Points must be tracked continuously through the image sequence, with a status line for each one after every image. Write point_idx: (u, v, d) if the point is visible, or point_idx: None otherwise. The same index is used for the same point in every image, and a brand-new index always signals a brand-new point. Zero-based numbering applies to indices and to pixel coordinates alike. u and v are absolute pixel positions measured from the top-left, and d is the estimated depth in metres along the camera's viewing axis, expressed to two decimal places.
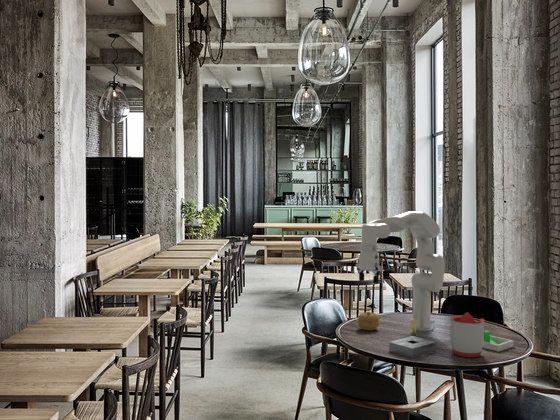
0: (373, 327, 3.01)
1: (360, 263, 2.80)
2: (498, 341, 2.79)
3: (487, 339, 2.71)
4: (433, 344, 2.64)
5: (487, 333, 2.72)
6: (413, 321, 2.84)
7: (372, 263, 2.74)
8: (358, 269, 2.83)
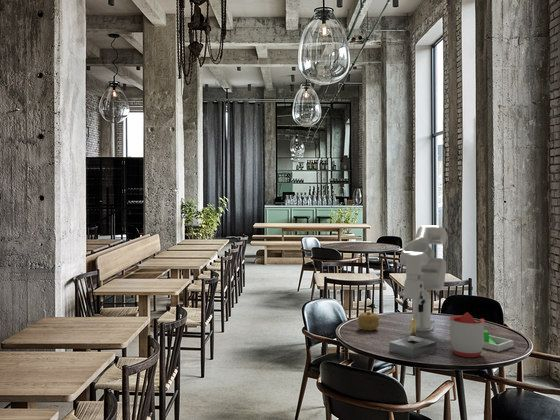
0: (373, 327, 3.01)
1: (404, 291, 2.86)
2: (498, 341, 2.79)
3: (486, 339, 2.71)
4: (433, 344, 2.64)
5: (486, 333, 2.72)
6: (413, 321, 2.84)
7: (417, 292, 2.80)
8: (402, 297, 2.89)
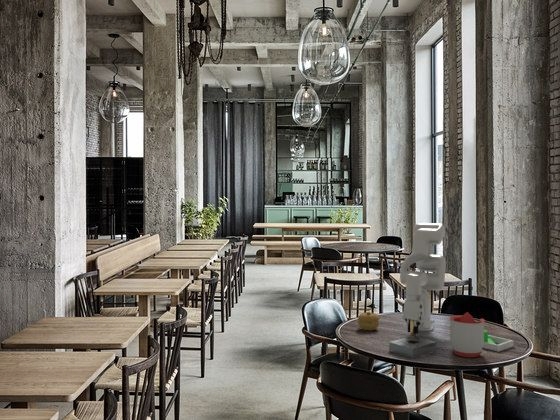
0: (373, 327, 3.01)
1: (404, 311, 2.87)
2: (498, 341, 2.79)
3: (484, 338, 2.72)
4: (433, 344, 2.64)
5: (485, 333, 2.73)
6: (413, 321, 2.84)
7: (417, 312, 2.81)
8: (406, 319, 2.88)
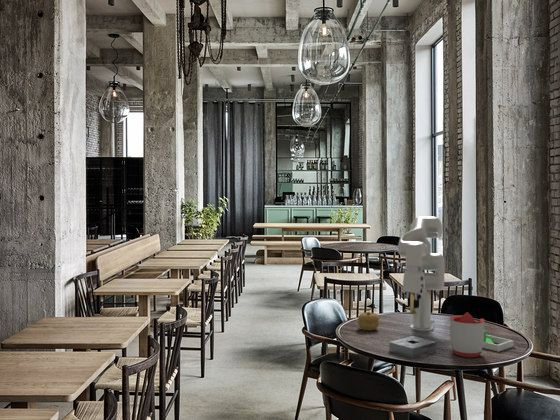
0: (373, 327, 3.01)
1: (404, 284, 2.66)
2: (498, 341, 2.79)
3: None
4: (433, 344, 2.64)
5: None
6: (413, 294, 2.63)
7: (418, 285, 2.60)
8: (406, 293, 2.66)
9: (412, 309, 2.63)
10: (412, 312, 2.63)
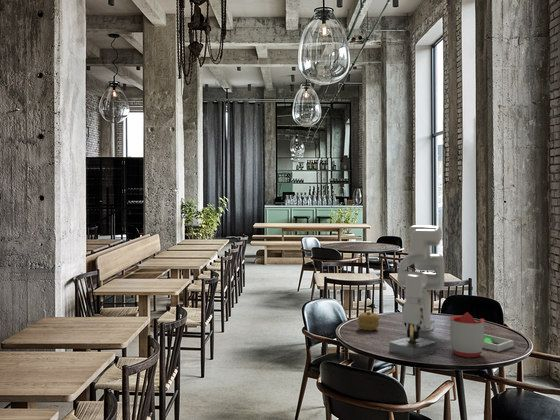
0: (373, 327, 3.01)
1: (403, 315, 2.66)
2: (498, 341, 2.79)
3: None
4: (433, 344, 2.64)
5: None
6: (413, 325, 2.63)
7: (417, 316, 2.60)
8: None
9: (412, 340, 2.63)
10: None
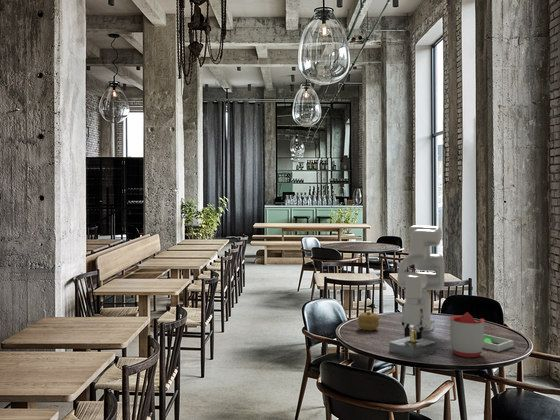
0: (373, 327, 3.01)
1: (403, 316, 2.66)
2: (498, 341, 2.79)
3: None
4: (433, 344, 2.64)
5: None
6: (413, 332, 2.63)
7: (417, 317, 2.60)
8: (403, 323, 2.68)
9: None
10: None
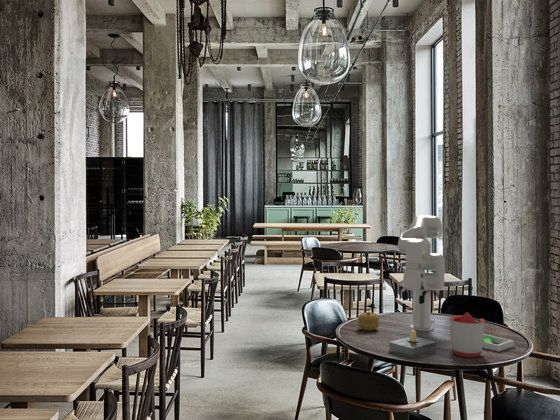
0: (373, 327, 3.01)
1: (404, 282, 2.65)
2: (498, 341, 2.79)
3: None
4: (433, 344, 2.64)
5: None
6: (413, 332, 2.63)
7: (418, 282, 2.59)
8: (401, 288, 2.69)
9: None
10: None
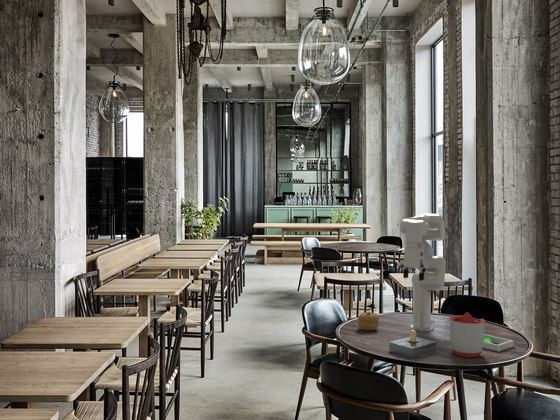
0: (373, 327, 3.01)
1: (405, 260, 2.81)
2: (498, 341, 2.79)
3: None
4: (433, 344, 2.64)
5: None
6: (413, 332, 2.63)
7: (418, 260, 2.75)
8: (402, 266, 2.84)
9: None
10: None
